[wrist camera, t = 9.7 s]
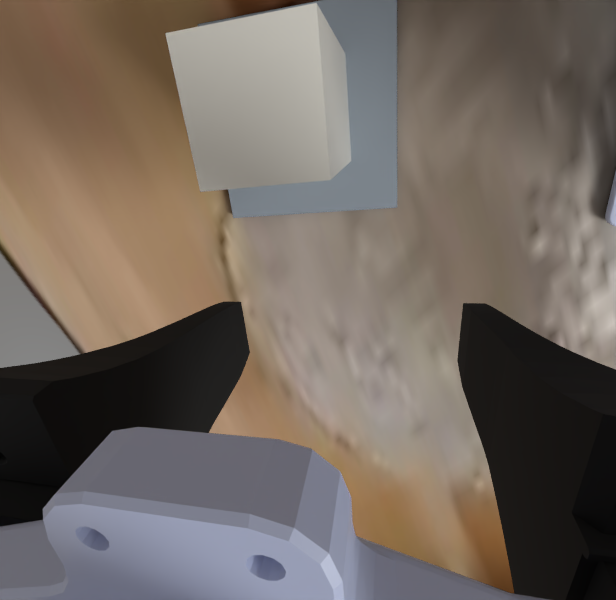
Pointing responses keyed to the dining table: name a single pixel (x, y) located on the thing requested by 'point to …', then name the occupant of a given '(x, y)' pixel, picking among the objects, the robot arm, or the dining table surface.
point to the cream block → (263, 99)
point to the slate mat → (362, 120)
